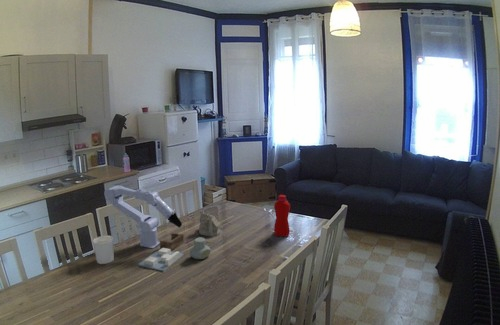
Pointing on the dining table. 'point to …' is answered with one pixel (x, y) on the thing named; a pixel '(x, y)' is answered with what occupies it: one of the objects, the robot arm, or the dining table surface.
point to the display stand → (161, 259)
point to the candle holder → (104, 249)
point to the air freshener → (199, 249)
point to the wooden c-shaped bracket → (172, 241)
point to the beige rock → (209, 225)
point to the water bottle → (282, 216)
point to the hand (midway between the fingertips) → (180, 225)
